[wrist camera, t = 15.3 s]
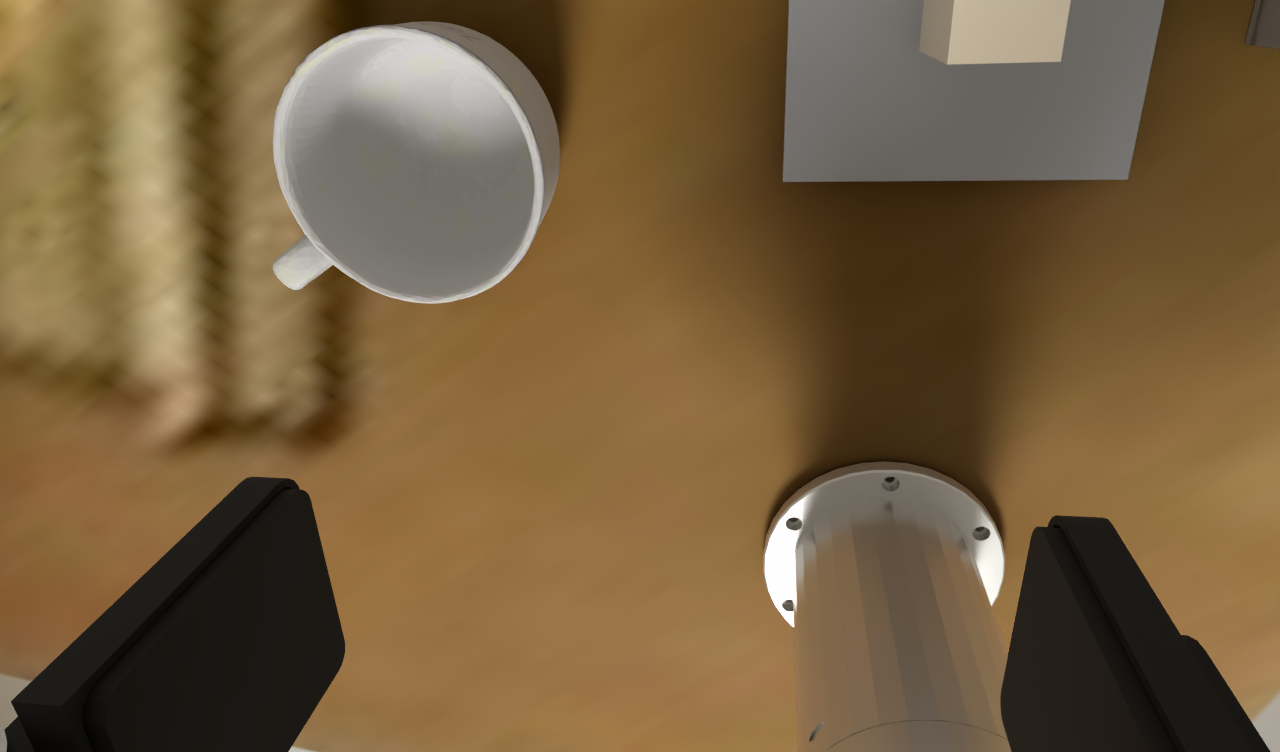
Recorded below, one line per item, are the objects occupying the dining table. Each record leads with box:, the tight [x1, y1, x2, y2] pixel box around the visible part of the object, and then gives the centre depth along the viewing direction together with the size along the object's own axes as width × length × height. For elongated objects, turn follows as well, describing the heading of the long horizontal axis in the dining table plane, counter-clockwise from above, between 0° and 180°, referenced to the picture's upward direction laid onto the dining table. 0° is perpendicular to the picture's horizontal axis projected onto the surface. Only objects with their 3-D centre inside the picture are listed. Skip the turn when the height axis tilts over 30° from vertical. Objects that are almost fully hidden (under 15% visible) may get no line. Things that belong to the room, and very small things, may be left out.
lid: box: [783, 0, 1165, 182], centre depth 31 cm, size 14×14×8 cm
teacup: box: [273, 21, 560, 303], centre depth 36 cm, size 14×11×8 cm
